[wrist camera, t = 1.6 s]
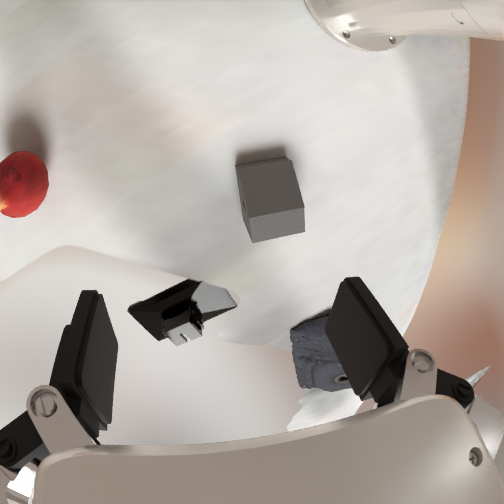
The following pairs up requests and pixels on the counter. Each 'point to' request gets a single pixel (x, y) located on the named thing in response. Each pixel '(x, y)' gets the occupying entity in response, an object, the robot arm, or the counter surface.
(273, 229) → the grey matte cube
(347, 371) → the robot arm
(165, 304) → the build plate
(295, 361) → the dark grey rough slab
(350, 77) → the counter surface
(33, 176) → the red oval fruit
